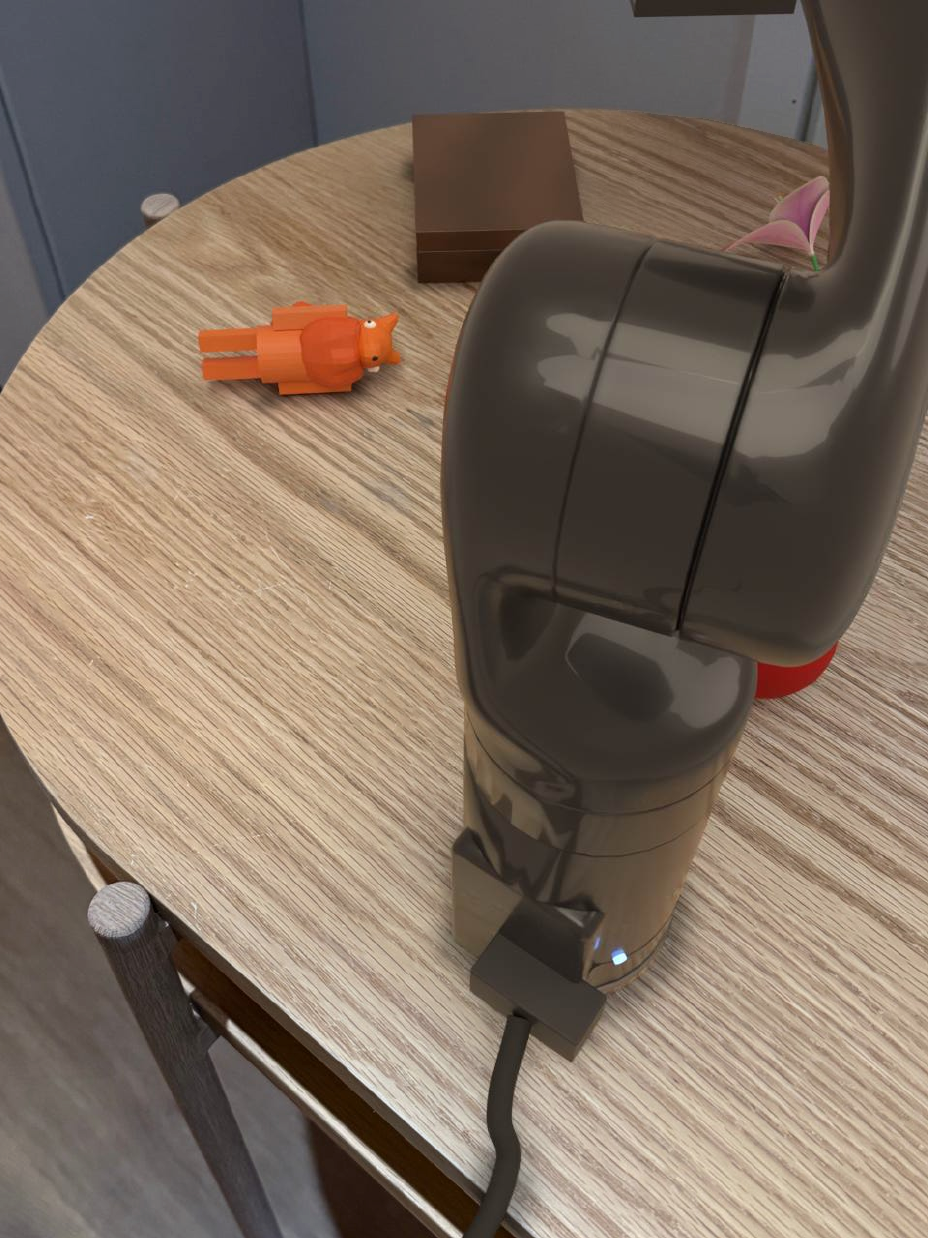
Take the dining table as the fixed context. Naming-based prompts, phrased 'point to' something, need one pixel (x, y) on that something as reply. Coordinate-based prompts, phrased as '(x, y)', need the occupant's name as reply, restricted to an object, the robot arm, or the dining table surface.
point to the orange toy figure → (303, 349)
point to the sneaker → (710, 7)
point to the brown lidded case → (486, 186)
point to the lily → (793, 219)
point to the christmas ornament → (789, 677)
